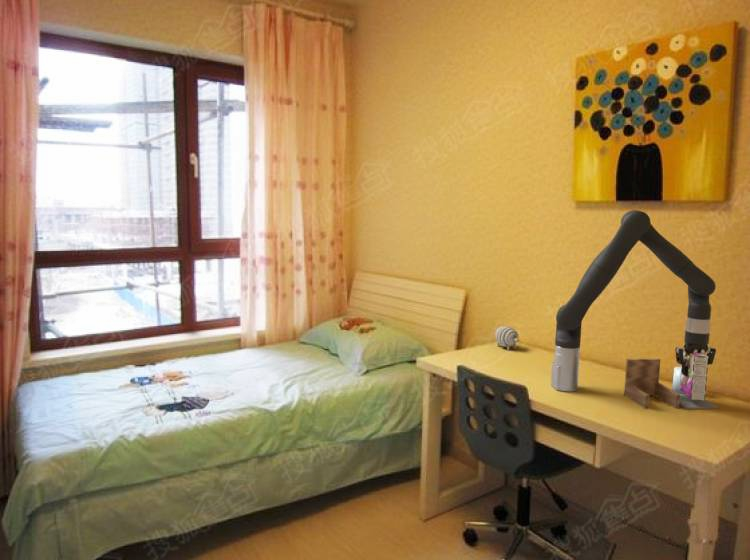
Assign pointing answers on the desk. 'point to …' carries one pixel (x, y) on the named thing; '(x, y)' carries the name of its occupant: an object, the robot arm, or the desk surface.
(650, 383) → the walnut bay
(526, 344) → the desk surface
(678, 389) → the white rounded cylinder
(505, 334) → the toy sheep
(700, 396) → the candy bar box
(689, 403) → the rubber pad
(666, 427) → the desk surface
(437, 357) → the desk surface
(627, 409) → the desk surface
